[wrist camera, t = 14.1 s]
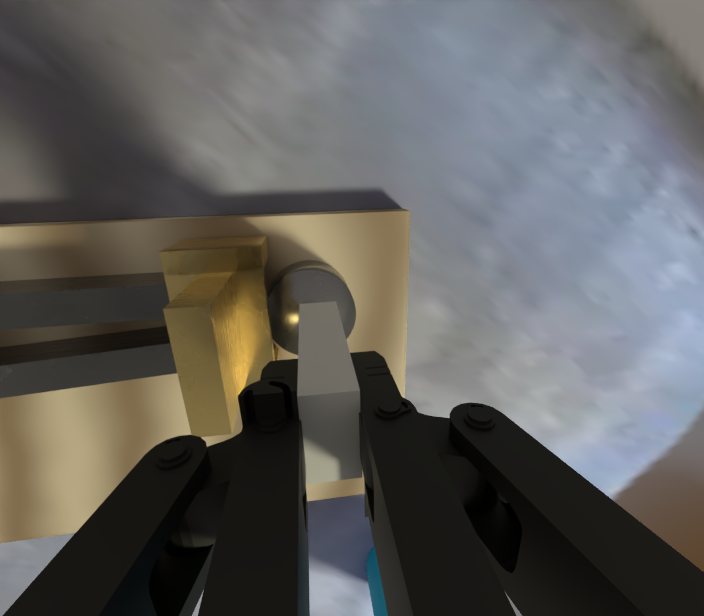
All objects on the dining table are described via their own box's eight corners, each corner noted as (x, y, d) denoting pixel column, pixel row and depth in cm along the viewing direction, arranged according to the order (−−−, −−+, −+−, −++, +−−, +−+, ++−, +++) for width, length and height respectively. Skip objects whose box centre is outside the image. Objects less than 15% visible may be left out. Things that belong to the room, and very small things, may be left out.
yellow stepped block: (207, 369, 20) (160, 466, 13) (182, 239, 17) (108, 277, 11) (280, 363, 20) (271, 453, 14) (266, 235, 18) (246, 269, 11)
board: (-111, 538, 22) (-138, 561, 21) (-315, 236, 16) (-374, 241, 14) (396, 472, 26) (401, 488, 25) (402, 208, 20) (410, 210, 18)
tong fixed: (-232, 380, 17) (-317, 412, 15) (-293, 293, 15) (-397, 313, 13) (350, 333, 20) (357, 353, 18) (348, 257, 19) (355, 269, 16)
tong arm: (-213, 407, 17) (-291, 442, 15) (-237, 376, 17) (-323, 407, 14) (260, 342, 20) (255, 364, 17) (254, 312, 19) (248, 331, 17)
